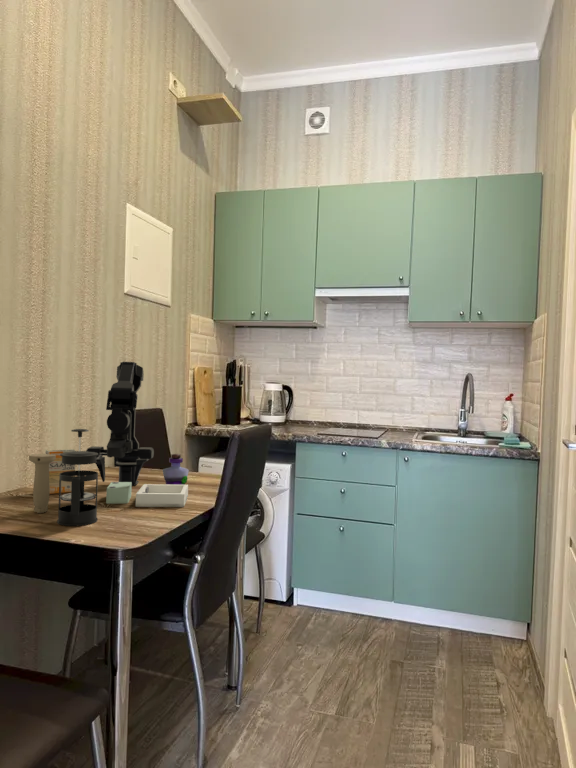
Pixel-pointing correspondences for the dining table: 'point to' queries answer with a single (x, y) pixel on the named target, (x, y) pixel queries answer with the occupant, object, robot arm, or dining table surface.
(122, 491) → the green box with knobs
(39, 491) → the handle
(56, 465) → the supplement box
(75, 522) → the french press
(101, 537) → the dining table surface
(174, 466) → the potion bottle
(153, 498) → the cabinet carcass
